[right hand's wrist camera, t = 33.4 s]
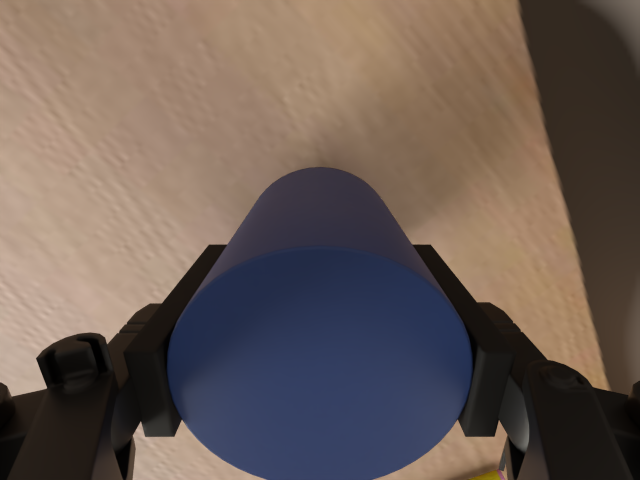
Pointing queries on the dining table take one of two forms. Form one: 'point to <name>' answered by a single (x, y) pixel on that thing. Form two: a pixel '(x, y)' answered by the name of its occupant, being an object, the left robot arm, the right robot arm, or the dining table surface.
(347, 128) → the dining table surface
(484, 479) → the pencil
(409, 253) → the cylinder
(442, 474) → the dining table surface
